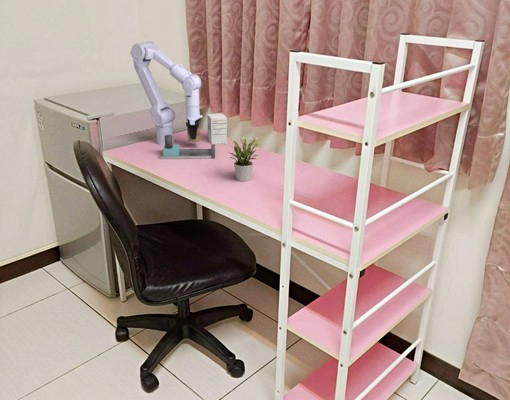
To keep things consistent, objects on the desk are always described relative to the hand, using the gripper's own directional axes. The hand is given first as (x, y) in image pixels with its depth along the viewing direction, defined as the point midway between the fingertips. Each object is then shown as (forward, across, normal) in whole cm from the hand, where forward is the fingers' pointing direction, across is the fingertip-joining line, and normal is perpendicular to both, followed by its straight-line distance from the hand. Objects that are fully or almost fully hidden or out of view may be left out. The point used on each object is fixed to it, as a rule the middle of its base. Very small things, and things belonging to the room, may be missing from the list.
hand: (193, 136), depth 214 cm
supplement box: (+6, +9, -10) cm, 15 cm away
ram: (+5, -10, +9) cm, 14 cm away
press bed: (+6, -10, +2) cm, 12 cm away
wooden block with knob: (+2, 0, 0) cm, 2 cm away
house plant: (+6, -35, -21) cm, 41 cm away
